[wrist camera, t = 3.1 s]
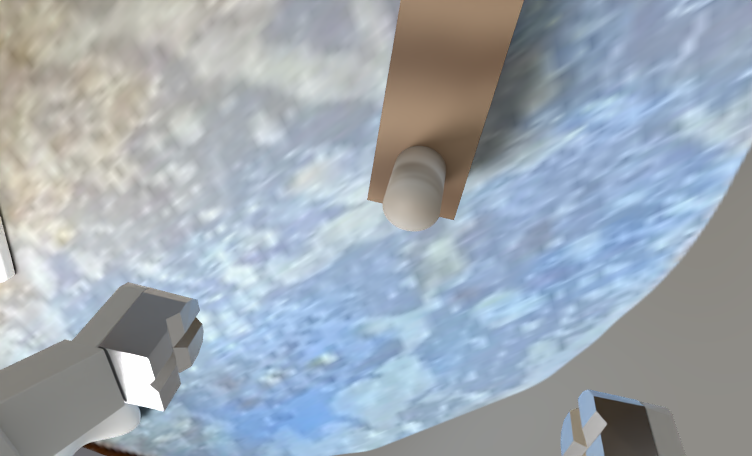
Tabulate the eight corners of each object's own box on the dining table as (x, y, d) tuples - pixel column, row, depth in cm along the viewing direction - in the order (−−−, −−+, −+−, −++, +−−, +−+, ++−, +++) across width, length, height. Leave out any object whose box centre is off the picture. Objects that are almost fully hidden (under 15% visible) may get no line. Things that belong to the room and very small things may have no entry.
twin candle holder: (458, 177, 34) (449, 262, 26) (381, 160, 34) (352, 239, 27) (556, -146, 22) (586, -147, 15) (440, -167, 23) (417, -179, 16)
